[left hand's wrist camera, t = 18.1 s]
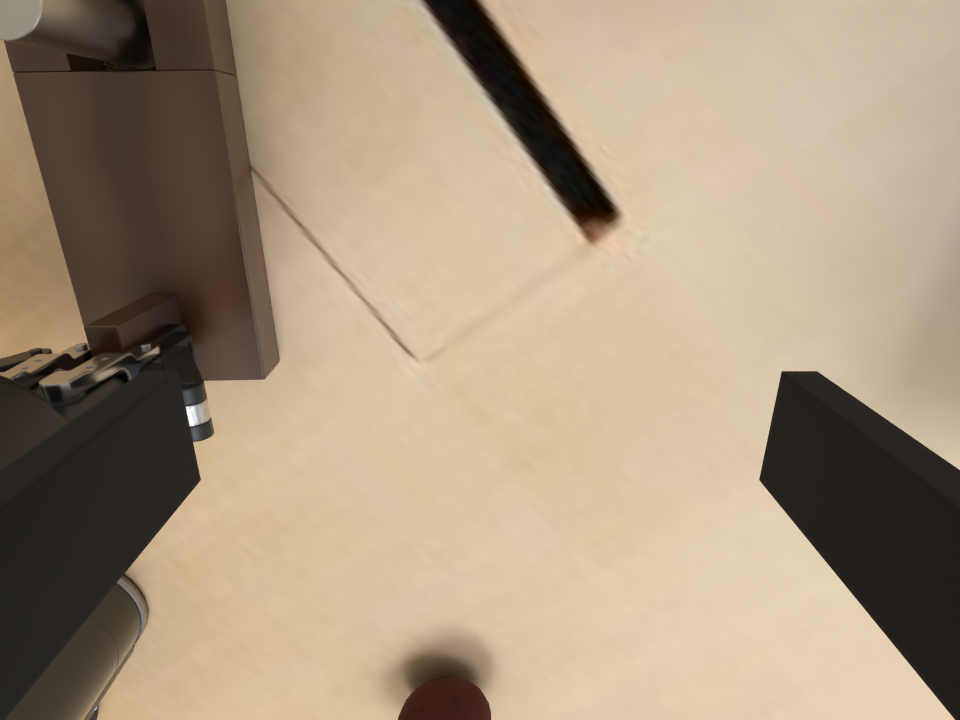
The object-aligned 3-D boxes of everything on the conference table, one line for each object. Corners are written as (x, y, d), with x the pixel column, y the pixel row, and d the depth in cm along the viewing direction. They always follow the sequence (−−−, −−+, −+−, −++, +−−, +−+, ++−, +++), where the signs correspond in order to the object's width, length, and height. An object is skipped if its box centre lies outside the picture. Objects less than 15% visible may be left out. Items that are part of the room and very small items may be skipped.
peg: (163, -4, 30) (25, -68, 21) (176, 68, 31) (52, 40, 22) (98, -4, 30) (-70, -67, 21) (114, 69, 31) (-38, 40, 22)
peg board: (213, -82, 29) (107, -171, 20) (280, 361, 37) (226, 426, 29) (12, -80, 29) (-178, -170, 20) (126, 364, 37) (28, 430, 29)
